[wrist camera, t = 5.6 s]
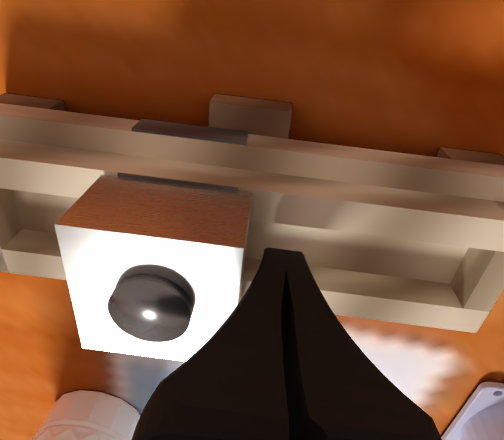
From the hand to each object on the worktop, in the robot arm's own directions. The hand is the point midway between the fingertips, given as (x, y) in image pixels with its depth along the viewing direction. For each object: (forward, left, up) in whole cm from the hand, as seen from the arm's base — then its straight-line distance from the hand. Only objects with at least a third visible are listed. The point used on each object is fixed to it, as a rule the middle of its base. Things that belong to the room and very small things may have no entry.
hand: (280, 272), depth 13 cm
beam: (+2, 0, -5) cm, 5 cm away
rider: (+4, 0, -2) cm, 4 cm away
